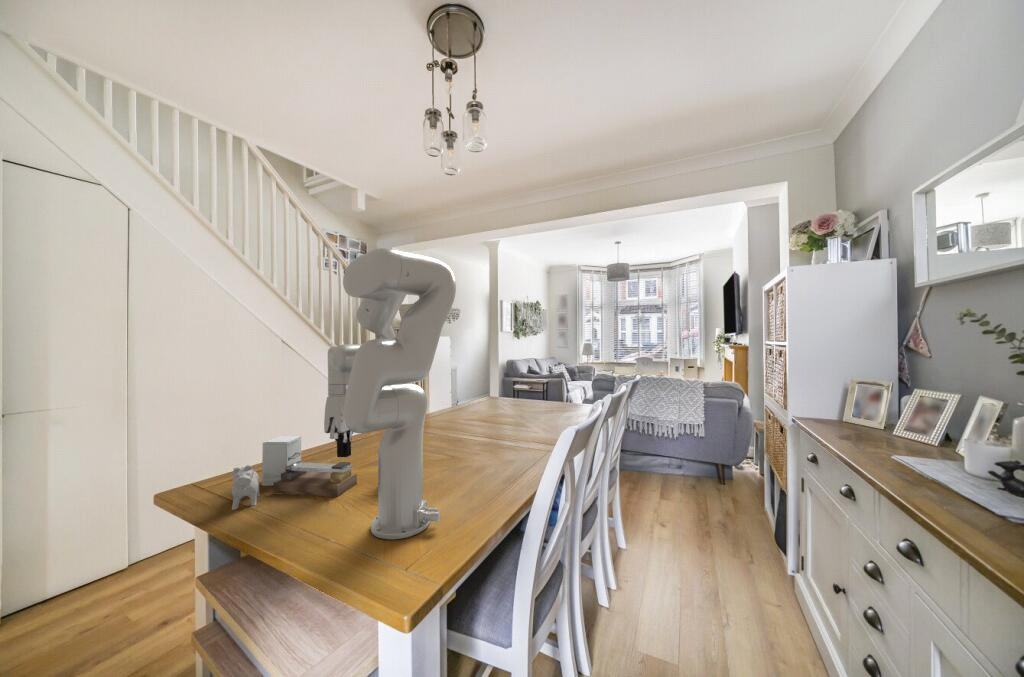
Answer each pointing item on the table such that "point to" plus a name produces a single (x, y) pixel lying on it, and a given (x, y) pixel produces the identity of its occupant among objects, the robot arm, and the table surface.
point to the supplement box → (279, 457)
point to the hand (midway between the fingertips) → (344, 456)
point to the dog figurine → (245, 485)
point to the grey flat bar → (319, 467)
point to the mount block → (315, 483)
